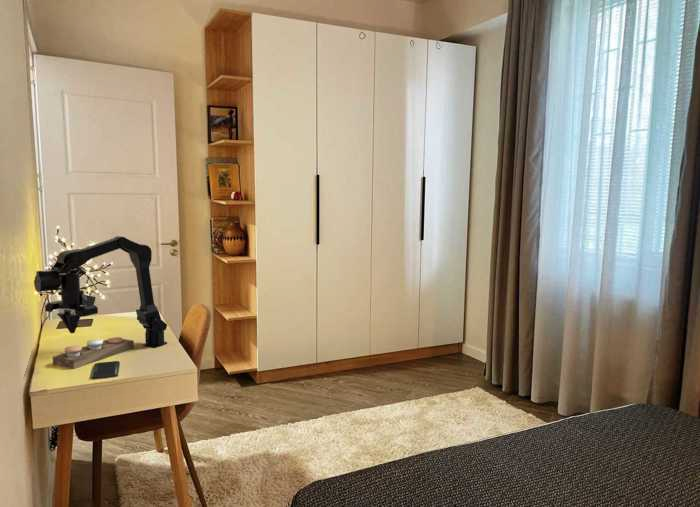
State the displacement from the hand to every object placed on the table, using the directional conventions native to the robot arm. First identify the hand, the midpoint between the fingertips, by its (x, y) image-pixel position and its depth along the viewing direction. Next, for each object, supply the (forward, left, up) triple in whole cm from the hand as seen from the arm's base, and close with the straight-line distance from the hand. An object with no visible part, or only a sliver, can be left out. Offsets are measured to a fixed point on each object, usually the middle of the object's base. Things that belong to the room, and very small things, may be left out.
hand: (72, 333), depth 180 cm
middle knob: (0, -9, -9) cm, 13 cm away
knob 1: (0, 0, -9) cm, 9 cm away
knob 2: (0, -18, -10) cm, 21 cm away
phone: (-16, +1, -11) cm, 20 cm away
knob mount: (0, -9, -11) cm, 14 cm away
